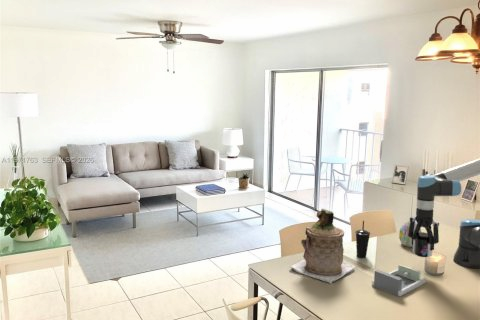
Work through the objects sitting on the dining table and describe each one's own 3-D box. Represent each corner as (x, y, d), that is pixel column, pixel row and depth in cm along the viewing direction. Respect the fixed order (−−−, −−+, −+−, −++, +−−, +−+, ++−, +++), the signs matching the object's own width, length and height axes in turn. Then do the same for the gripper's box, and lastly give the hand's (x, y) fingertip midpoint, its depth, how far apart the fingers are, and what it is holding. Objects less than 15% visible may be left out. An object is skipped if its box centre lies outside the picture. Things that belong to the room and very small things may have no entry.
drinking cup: (369, 259, 218) (371, 223, 215) (354, 258, 219) (356, 222, 216) (368, 254, 225) (370, 219, 222) (353, 253, 227) (355, 218, 224)
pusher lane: (397, 273, 201) (398, 258, 200) (425, 283, 191) (426, 268, 190) (371, 285, 188) (372, 270, 187) (400, 297, 177) (401, 280, 176)
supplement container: (417, 257, 196) (418, 236, 195) (412, 252, 203) (413, 232, 202) (431, 257, 196) (433, 236, 194) (426, 252, 203) (427, 232, 201)
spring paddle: (399, 274, 199) (399, 264, 198) (419, 281, 191) (420, 271, 190) (393, 276, 196) (394, 266, 195) (414, 284, 187) (414, 274, 187)
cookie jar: (356, 269, 205) (360, 207, 200) (331, 285, 187) (334, 218, 183) (314, 256, 222) (316, 199, 217) (287, 270, 204) (289, 208, 199)
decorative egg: (396, 240, 247) (397, 216, 245) (417, 241, 246) (419, 217, 244) (401, 248, 235) (403, 222, 233) (423, 249, 234) (425, 223, 232)
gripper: (401, 205, 201) (399, 250, 205) (441, 214, 186) (438, 262, 190) (409, 202, 206) (407, 246, 209) (449, 211, 191) (446, 258, 194)
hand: (422, 253), depth 199 cm, fingers closed on supplement container, 7 cm apart
